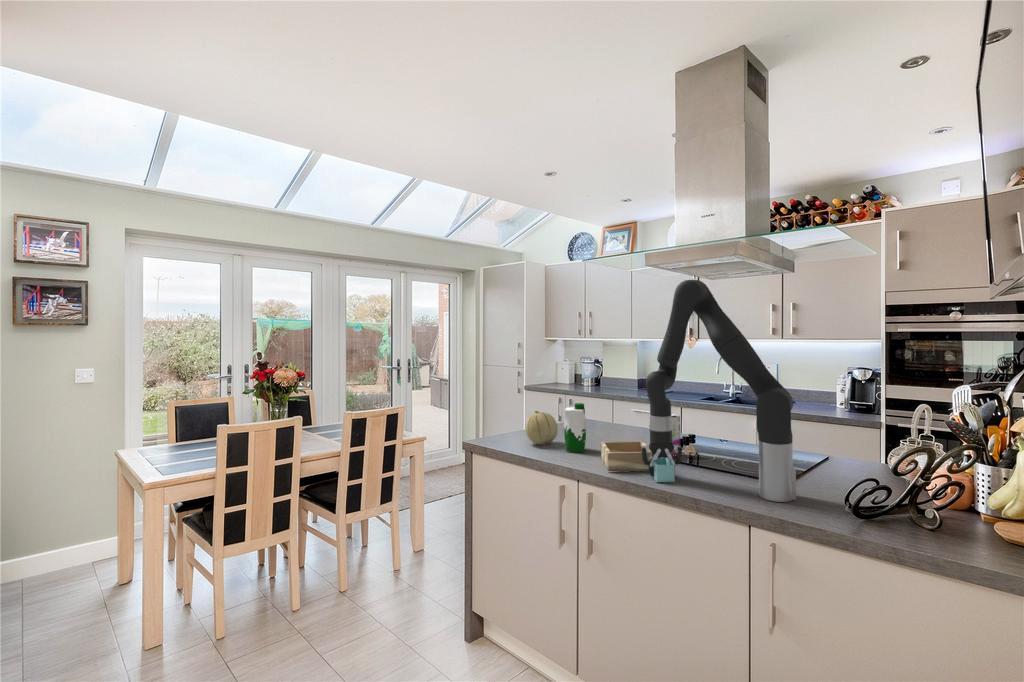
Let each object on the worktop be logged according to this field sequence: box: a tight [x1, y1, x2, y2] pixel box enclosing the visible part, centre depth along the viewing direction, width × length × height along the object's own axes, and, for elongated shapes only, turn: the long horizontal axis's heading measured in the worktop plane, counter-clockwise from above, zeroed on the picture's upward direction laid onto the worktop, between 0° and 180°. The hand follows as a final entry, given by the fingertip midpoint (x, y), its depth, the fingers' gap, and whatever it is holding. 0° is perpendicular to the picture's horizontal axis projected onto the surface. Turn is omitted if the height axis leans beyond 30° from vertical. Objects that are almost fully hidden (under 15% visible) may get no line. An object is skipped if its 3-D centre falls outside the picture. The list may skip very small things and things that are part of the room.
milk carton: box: [563, 402, 587, 453], centre depth 220 cm, size 9×9×20 cm
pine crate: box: [600, 440, 652, 472], centre depth 196 cm, size 17×16×7 cm
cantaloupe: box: [525, 410, 559, 445], centre depth 233 cm, size 15×15×15 cm
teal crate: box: [649, 457, 676, 483], centre depth 179 cm, size 10×6×6 cm, turn 178°
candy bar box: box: [671, 413, 682, 457], centre depth 207 cm, size 11×5×16 cm, turn 105°
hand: (661, 476), depth 179 cm, fingers closed on teal crate, 6 cm apart
